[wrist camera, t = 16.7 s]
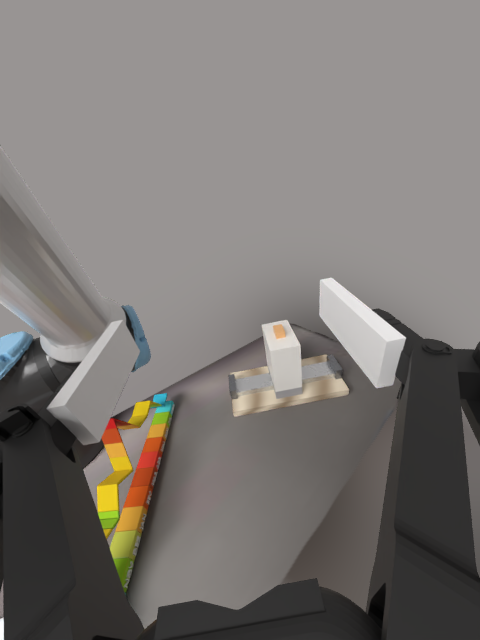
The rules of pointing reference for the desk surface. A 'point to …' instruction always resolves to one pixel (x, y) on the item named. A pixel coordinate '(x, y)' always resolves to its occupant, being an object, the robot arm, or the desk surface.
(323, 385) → the rail board
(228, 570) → the desk surface
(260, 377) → the steel rail
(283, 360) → the breaker module
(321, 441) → the desk surface
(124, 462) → the chart
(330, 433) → the desk surface
